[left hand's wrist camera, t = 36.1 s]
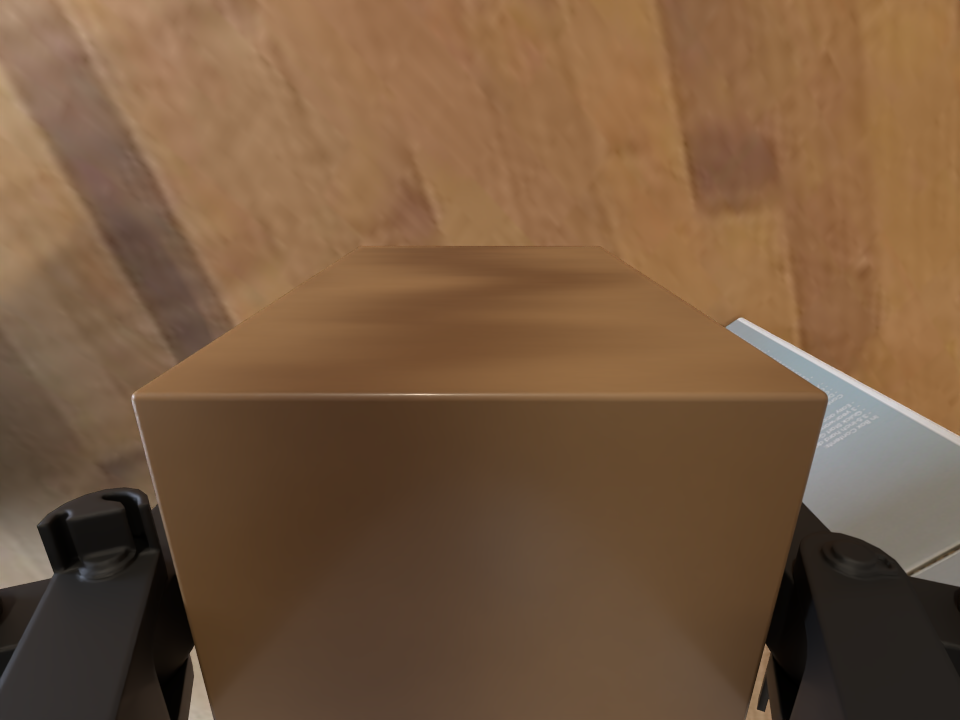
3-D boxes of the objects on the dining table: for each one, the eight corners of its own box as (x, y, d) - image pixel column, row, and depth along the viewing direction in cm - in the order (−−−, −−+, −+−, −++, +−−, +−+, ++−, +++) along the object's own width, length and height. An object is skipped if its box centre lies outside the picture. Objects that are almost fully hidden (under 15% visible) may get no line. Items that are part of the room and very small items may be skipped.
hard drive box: (849, 469, 37) (1223, 775, 19) (755, 526, 39) (1010, 857, 20) (740, 310, 33) (1081, 496, 14) (640, 381, 35) (828, 629, 16)
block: (601, 245, 16) (834, 394, 5) (583, 467, 18) (715, 847, 8) (358, 245, 16) (125, 393, 5) (376, 467, 18) (244, 847, 8)
